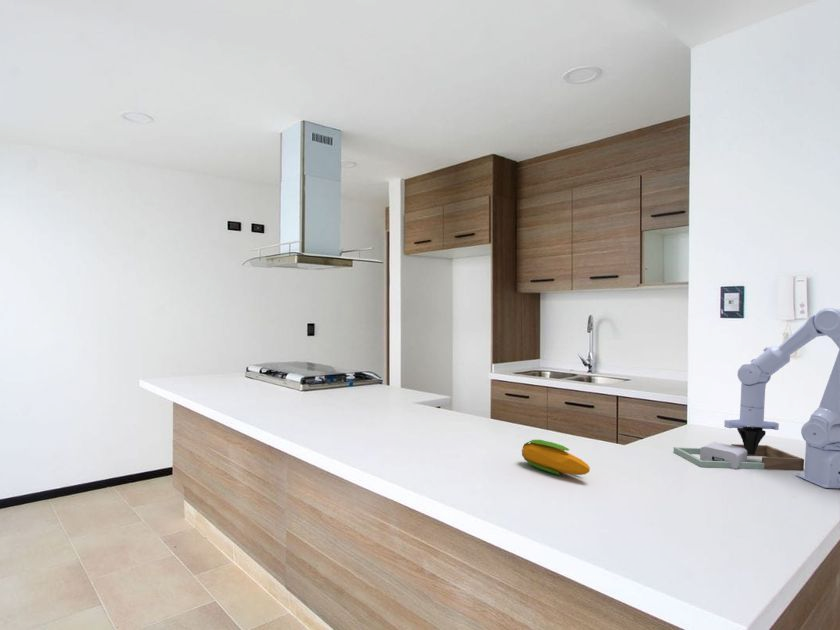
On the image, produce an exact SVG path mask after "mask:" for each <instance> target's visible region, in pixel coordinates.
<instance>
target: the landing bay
mask: <svg viewBox="0 0 840 630" xmlns="http://www.w3.org/2000/svg"><path fill="white" fill-rule="evenodd" d="M700 449H701V447H681V446H679V447H677V446H676V447H675V446H673V453H674V454H675V455H677V456H679V457H682V458H683V459H685V460H687V461H689V462H691V463H692V464H695V465H696V466H698V467H700V468H715V469H716V468H718V469H720V468H721V469H732V468H731V462H727V461H702V460H701V459H700V457H699V458H698V457H696V456H695V455H700ZM737 469H747V470H748V469H749V470H750V469H751V470H765V469H764V463H762V461H761V462H759V461H758V462H757V461H756V462H755V461H747V462H740V463H739V467H738V468H737Z"/></svg>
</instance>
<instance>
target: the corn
mask: <svg viewBox="0 0 840 630" xmlns="http://www.w3.org/2000/svg"><path fill="white" fill-rule="evenodd" d="M567 451H570V449H569V448H568V447H567V446H564V445H562V444H560V443H555V442H553V441H549V440H548V441H547V440H543V439H531V440H529V441H528V442H527V441H526V442H525V443H524V444H523V446H522V449H521V455H522V457H523V458H524V459H523V460H525V461H526V462H527V463H528V464H529V465H531V466H533V467H535V468H536V469H538V470H543V471H545V472H547V473H550V474H553V475H555V476H561V474H566V475H575V476H582V475H583V476H584V475H586V474H588V473H590V470H591V467H590V465H589V464H587V463H586V462H585V461H584V460H583V459H581V458H579V457H578V456H575V455H573V454H572V453H569V452H567ZM560 473H561V474H560Z"/></svg>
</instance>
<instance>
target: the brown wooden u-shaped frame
mask: <svg viewBox="0 0 840 630" xmlns="http://www.w3.org/2000/svg"><path fill="white" fill-rule="evenodd" d="M730 445H732V446H737V447H742V448H744V444H739V443H738V444H736V443H735V444H734V443H731V444H730ZM744 449H745V448H744ZM749 456H751V457H761V462H762V463H764V469H763V470H781V471H782V470H783V471H805V458H801V457H799V456H796V455H794V454H791V453H788V452H785V451H783V450H781V449H779V448H775V447H773V446H770V445H768V444H765V445H764V444H758V447H757V449H756V452H755V455H750V454H747V457H749Z"/></svg>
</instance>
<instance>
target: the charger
mask: <svg viewBox="0 0 840 630" xmlns="http://www.w3.org/2000/svg"><path fill="white" fill-rule="evenodd" d="M700 448H701V449H700V454H699V459H701V460H702V461H727V462H731V468H730V469H733V470H737V469H739V468H738V467H739V463H740V462H748V461H747V460H748V456H747V450H746V449H744V448H742V447H737V446H732V445H731V444H726V443H723V442H717V441H716V442H715V441H713V442H711V443H709V444H706V445H704V446H702V447H700Z"/></svg>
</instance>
